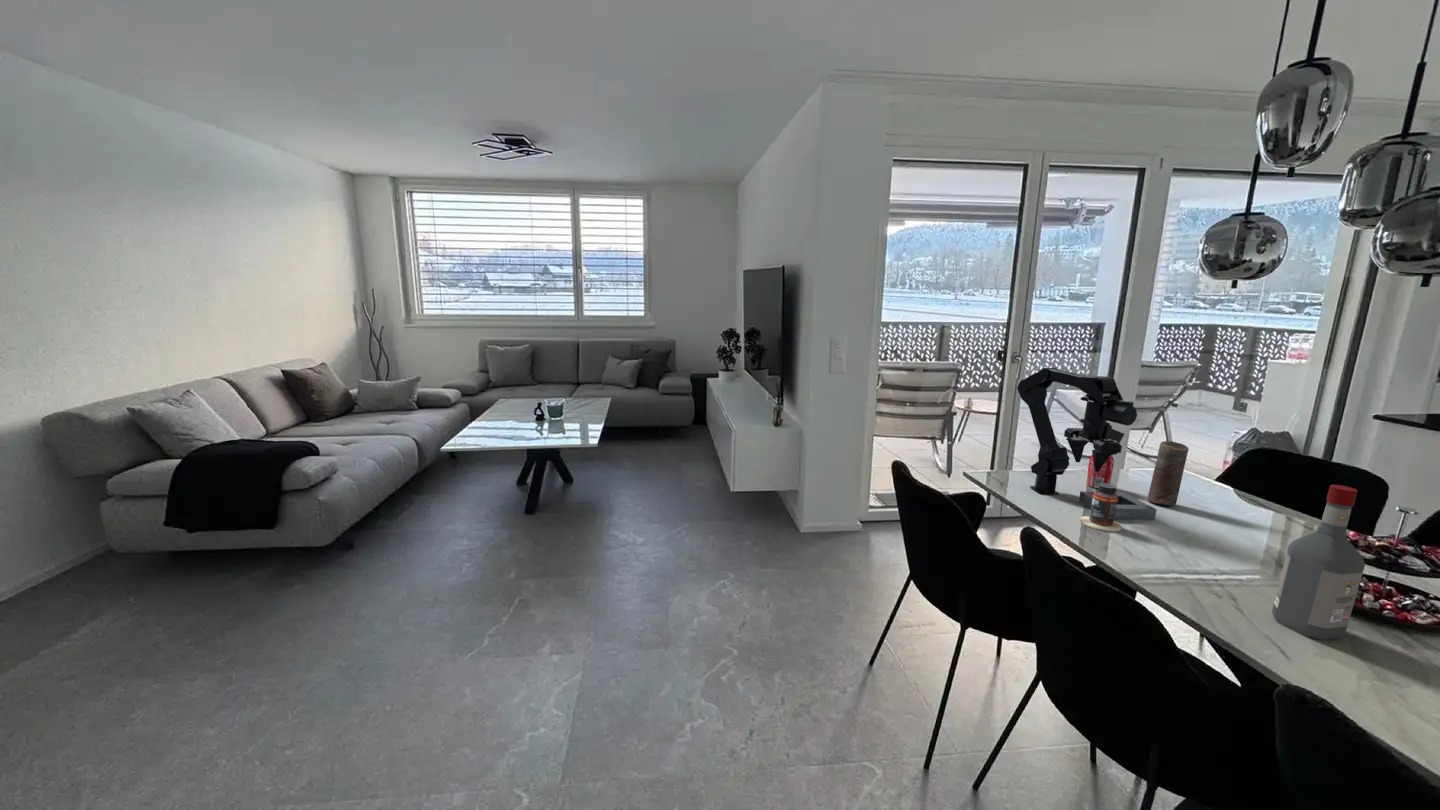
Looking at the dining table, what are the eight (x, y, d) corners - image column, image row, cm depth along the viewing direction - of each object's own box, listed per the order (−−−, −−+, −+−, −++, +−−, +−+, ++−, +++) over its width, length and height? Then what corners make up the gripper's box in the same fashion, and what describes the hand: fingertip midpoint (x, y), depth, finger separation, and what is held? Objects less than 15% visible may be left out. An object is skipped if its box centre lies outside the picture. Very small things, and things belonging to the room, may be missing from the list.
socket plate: (1078, 501, 183) (1080, 491, 182) (1121, 502, 183) (1123, 492, 183) (1108, 519, 169) (1110, 508, 169) (1154, 520, 170) (1156, 509, 169)
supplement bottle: (1115, 522, 166) (1122, 485, 163) (1110, 528, 161) (1118, 490, 159) (1091, 516, 170) (1098, 480, 167) (1086, 522, 165) (1093, 485, 163)
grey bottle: (1350, 638, 113) (1392, 495, 107) (1316, 642, 111) (1356, 497, 105) (1296, 612, 122) (1332, 479, 116) (1263, 616, 120) (1298, 480, 114)
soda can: (1102, 483, 201) (1108, 451, 199) (1113, 490, 194) (1119, 457, 192) (1081, 482, 202) (1086, 450, 199) (1091, 489, 195) (1097, 455, 192)
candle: (1175, 503, 185) (1187, 443, 180) (1178, 510, 179) (1190, 448, 174) (1146, 497, 189) (1157, 439, 184) (1147, 504, 183) (1159, 444, 178)
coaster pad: (1072, 517, 170) (1073, 515, 170) (1105, 518, 170) (1106, 516, 170) (1094, 531, 160) (1094, 529, 160) (1129, 532, 161) (1130, 530, 160)
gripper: (1144, 425, 164) (1134, 477, 167) (1101, 411, 182) (1093, 458, 186) (1106, 424, 164) (1097, 476, 167) (1066, 410, 182) (1059, 457, 185)
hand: (1087, 466), depth 176 cm, fingers open, 9 cm apart
